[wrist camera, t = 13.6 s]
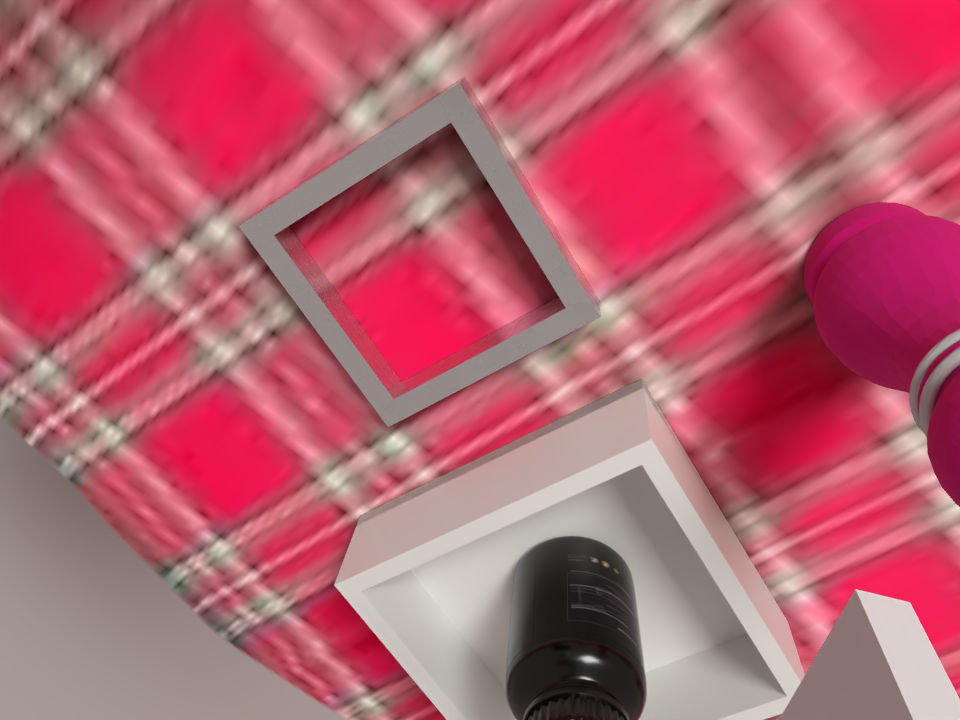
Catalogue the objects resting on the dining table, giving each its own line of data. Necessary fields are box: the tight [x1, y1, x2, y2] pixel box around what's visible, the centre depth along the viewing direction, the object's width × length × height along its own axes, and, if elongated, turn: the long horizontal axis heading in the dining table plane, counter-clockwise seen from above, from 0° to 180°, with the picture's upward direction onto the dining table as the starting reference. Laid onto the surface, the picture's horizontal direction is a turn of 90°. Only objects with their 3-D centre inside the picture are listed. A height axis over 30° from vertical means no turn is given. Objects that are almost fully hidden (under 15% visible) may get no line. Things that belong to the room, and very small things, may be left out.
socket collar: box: [239, 77, 601, 427], centre depth 41 cm, size 12×12×2 cm
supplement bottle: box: [505, 536, 647, 720], centre depth 43 cm, size 7×7×12 cm
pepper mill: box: [804, 202, 960, 507], centre depth 31 cm, size 7×7×20 cm
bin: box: [334, 379, 805, 720], centre depth 46 cm, size 18×18×6 cm
